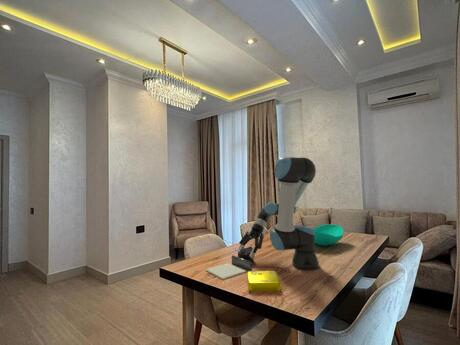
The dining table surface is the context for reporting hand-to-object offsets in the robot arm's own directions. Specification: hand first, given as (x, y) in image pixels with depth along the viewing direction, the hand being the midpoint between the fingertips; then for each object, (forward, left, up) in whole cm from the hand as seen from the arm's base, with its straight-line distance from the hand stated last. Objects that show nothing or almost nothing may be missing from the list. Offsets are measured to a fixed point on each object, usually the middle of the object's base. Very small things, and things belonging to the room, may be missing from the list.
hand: (244, 255), depth 147 cm
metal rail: (-4, +6, -4) cm, 9 cm away
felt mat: (-4, +18, -4) cm, 19 cm away
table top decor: (-8, -75, -5) cm, 76 cm away
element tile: (-30, +14, -5) cm, 33 cm away
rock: (+1, -3, -4) cm, 6 cm away
